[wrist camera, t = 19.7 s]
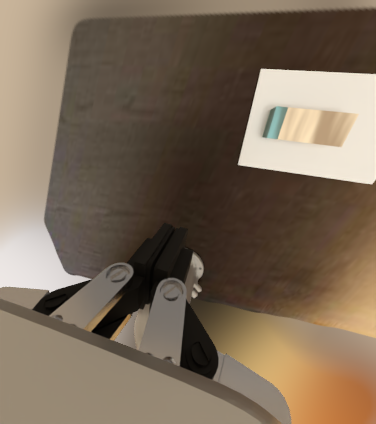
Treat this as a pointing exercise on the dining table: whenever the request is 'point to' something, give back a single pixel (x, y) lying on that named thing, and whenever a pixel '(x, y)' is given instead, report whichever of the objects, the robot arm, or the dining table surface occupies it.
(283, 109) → the block
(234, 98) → the dining table surface
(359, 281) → the dining table surface
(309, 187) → the dining table surface
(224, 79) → the dining table surface
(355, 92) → the mat
